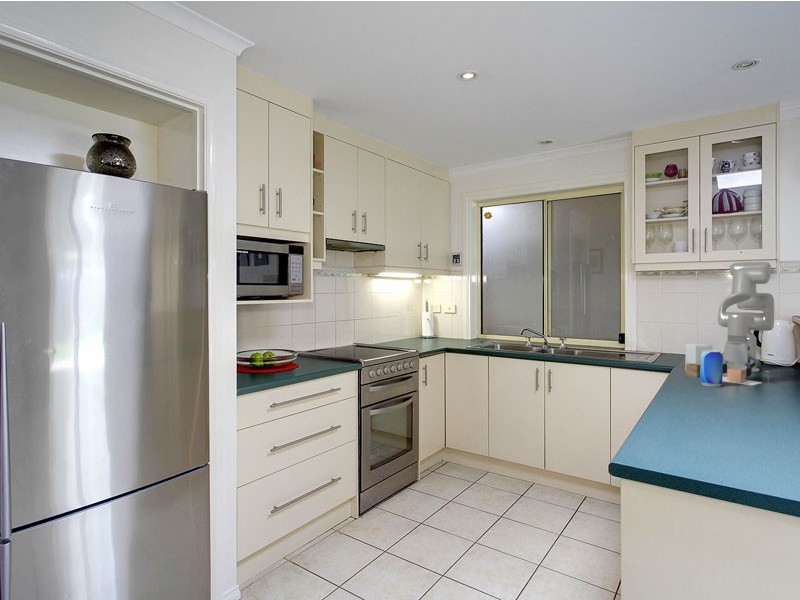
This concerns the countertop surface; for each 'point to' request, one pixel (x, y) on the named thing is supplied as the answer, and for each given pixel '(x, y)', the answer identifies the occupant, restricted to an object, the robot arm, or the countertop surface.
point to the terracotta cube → (736, 374)
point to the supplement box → (695, 353)
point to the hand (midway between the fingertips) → (736, 374)
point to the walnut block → (693, 370)
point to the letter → (746, 382)
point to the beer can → (711, 368)
